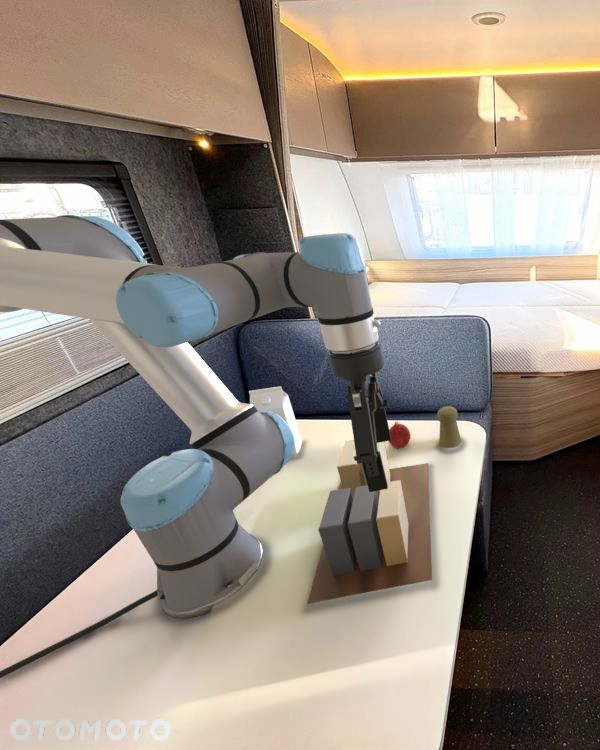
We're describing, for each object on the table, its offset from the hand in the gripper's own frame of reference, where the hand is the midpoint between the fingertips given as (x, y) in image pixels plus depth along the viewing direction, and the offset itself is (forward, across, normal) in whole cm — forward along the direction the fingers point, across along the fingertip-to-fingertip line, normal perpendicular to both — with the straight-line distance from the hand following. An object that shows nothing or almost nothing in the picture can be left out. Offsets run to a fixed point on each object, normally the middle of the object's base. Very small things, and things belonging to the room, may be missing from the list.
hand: (381, 462), depth 65 cm
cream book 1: (+18, +15, +9) cm, 25 cm away
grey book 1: (+18, -1, +9) cm, 20 cm away
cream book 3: (+18, -1, 0) cm, 18 cm away
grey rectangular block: (+18, -1, +5) cm, 18 cm away
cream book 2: (+18, +15, +4) cm, 24 cm away
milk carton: (+18, +38, +30) cm, 52 cm away
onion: (+19, +32, 0) cm, 37 cm away
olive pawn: (+19, +30, -13) cm, 38 cm away
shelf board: (+19, +6, +4) cm, 20 cm away
